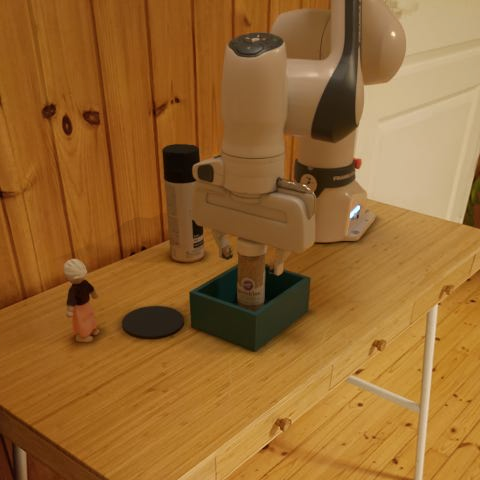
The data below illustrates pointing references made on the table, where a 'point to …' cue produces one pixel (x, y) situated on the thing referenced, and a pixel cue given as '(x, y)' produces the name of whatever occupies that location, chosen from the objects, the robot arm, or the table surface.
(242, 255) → the sprinkles bottle
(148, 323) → the pad
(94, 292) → the grandmother figurine
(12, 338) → the table surface
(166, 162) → the spray can
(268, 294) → the basin
